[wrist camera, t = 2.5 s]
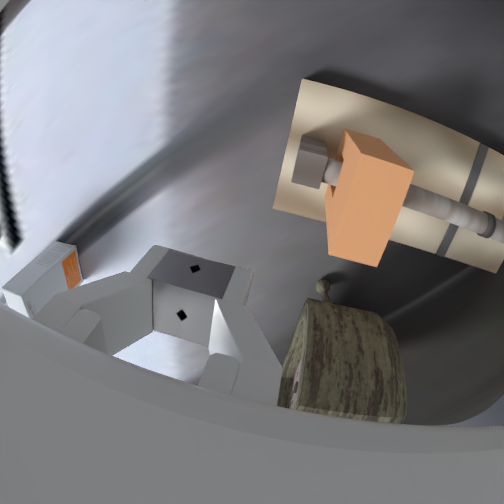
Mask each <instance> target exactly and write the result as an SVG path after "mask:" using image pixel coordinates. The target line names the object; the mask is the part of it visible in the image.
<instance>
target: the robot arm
mask: <svg viewBox="0 0 504 504" xmlns="http://www.w3.org/2000/svg"><path fill="white" fill-rule="evenodd" d="M252 277H253V270H251V269H246V268H242V267H237V266H236V267H235V266H232V265H228V264H223V263H219V262H215V261H211V260H207V259H203V258H201V257H197V256H194V255H190V254H187V253H183V252H180V251H176V250H173V249H170V248H166V247H162V246H158V245H154V246H152V248H151V249H150V250H149V251H148V252H147V253H146V254H145V255H144V257H143V258H142V259H141V260H140V261H139V262H138V264H137V265H136V266H135V267H134V268H133V269H132V270H131V272H130V273H129V272H122V273H119V274H116V275H113V276H109V277H106V278H103V279H100V280H97V281H94V282H91V283H88V284H85V285H82V286H79V287H76V288H73V289H70V290H67V291H64V292H61V293H58V294H55V295H54V296H53V297H52V298H51V299H50V300H49V301H48V302H47V303H46V305H45V306H44V307H43V308H42V309H41V310H40V311H39V312H38V313H37V314H36V315H35V316H34V317H33V318H32V319H30V318H28V317H27V316H25V315H23V314H21V313H19V312H17V311H15V310H14V309H12V308H10V307H8V306H6V305H5V304H3V303H1V302H0V504H504V425H502V426H471V427H470V426H468V427H467V426H464V427H462V426H456V427H455V426H423V425H406V424H393V423H382V422H373V421H364V420H356V419H348V418H341V417H334V416H328V415H321V414H315V413H310V412H304V411H299V410H294V409H288V408H284V407H279V406H277V401H278V395H279V389H280V382H281V376H282V369H283V368H282V366H281V364H280V363H279V361H278V359H277V357H276V356H275V354H274V352H273V350H272V349H271V347H270V345H269V343H268V342H267V340H266V338H265V336H264V334H263V333H262V331H261V329H260V327H259V326H258V324H257V322H256V320H255V318H254V317H253V315H252V313H251V311H250V309H249V308H248V306H246V303H247V299H248V294H249V290H250V286H251V281H252ZM153 330H154V331H157V332H161V333H164V334H168V335H171V336H175V337H178V338H181V339H184V340H187V341H190V342H193V343H197V344H200V345H203V346H206V347H209V352H210V357H209V359H208V362H207V364H206V367H205V369H204V372H203V374H202V377H201V379H200V382H199V384H198V386H197V385H193V384H190V383H187V382H184V381H181V380H178V379H174V378H171V377H168V376H165V375H162V374H159V373H157V372H154V371H151V370H148V369H145V368H142V367H140V366H137V365H134V364H132V363H129V362H126V361H124V360H121V359H119V358H116V357H114V356H112V355H114V354H116V353H117V352H119V351H121V350H122V349H124V348H126V347H128V346H129V345H131V344H133V343H134V342H136V341H138V340H139V339H141V338H143V337H145V336H146V335H148V334H150V333H151V332H153Z"/></svg>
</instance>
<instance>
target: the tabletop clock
mask: <svg viewBox="0 0 504 504" xmlns="http://www.w3.org/2000/svg"><path fill="white" fill-rule="evenodd" d="M329 290H330V283H329V282H328V281H327V280H326V279H320V280H319V281H318V282H317V283H316V291H317V292H319V293H320V294H322V295H323V301H319V300H315V299H310V298H307V300H306V302H305V304H304V307H303V309H302V312H301V315H300V317H299V320H298V323H297V326H296V328H295V331H294V334H293V337H292V340H291V342H290V345H289V348H288V351H287V354H286V357H285V360H284V363H283V366H282V368H283V369H282V376H281V382H280V389H279V395H278V401H277V406H279V407H284V408H288V409H294V410H299V411H304V412H310V413H315V414H321V415H328V416H334V417H341V418H348V419H356V420H364V421H373V422H382V423H393V424H402V423H403V421H404V419H405V417H406V410H407V390H406V382H405V375H404V368H403V362H402V357H401V353H400V349H399V345H398V342H397V338H396V335H395V333H394V330H393V329H392V328H391V327H390V325H389V324H388V323H386V322H385V321H384V320H383V319H382V318H381V317H380V316H379V315H378V314H377V313H376V312H371V311H366V310H361V309H356V308H352V307H347V306H342V305H338V304H333V303H331V301H330V299H329V296H328V294H327V292H328V291H329Z"/></svg>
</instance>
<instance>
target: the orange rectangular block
mask: <svg viewBox="0 0 504 504" xmlns="http://www.w3.org/2000/svg"><path fill="white" fill-rule="evenodd" d="M335 160H337V161H340V162H343V164H342V168H341V171H340V175H339V178H338V182H337V185H336V186H333V185H330V184H328V187H327V190H326V193H325V197H324V198H325V210H326V223H327V237H328V252H329V255H332V256H336V257H340V258H343V259H347V260H351V261H355V262H359V263H363V264H366V265H370V266H374V267H377V266H378V263H379V261H380V259H381V257H382V254H383V252H384V250H385V247H386V245H387V243H388V240H389V238H390V235H391V233H392V230H393V228H394V225H395V223H396V220H397V218H398V215H399V213H400V210H401V207H402V205H403V202H404V199H405V197H406V194H407V191H408V189H409V186H410V183H411V180H412V177H413V174H414V170H413V169H412V168H411V167H410V166H409V165H408V164H407V163H406V162H405V161H403V160H402V159H401V158H400V157H399V156H398V155H397V154H396V153H395V152H394V151H393V150H392V149H390V148H389V147H388V146H387V145H386V144H385V143H384V142H383V141H381V140H380V139H378V138H375V137H372V136H369V135H366V134H363V133H359V132H356V131H353V130H349V129H346V128H344V129H343V132H342V136H341V140H340V144H339V147H338V151H337V155H336V158H335Z"/></svg>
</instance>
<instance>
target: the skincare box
mask: <svg viewBox="0 0 504 504" xmlns="http://www.w3.org/2000/svg"><path fill="white" fill-rule="evenodd" d="M82 282H83V278H82V273H81V269H80V264H79V258H78V253H77V247H76V245H71V244H66V243H62V242H58V241H55V242H54V243H53V244H52V245H50V246H49V247H48V248H47V249H45V250H44V251H43V252H42V253H41V254H39V255H38V256H37V257H36V258H35V259H34V260H32V261H31V262H30V263H29V264H28V265H27V266H25V267H24V268H23V269H22V270H21V271H20V272H19V273H17V274H16V275H15V276H14V277H13V278H12V279H11V280H10V281H8V282H7V283H6V284H5V285H4V286H3V287H2V290H3V293H4V295H5V298H6V301H7V305H8V307H10V308H12V309H14V310H15V311H17V312H19V313H21V314H23V315H25V316H27V317H28V318H30V319H32V318H33V317H34V316H35V315H36V314H37V313H38V312H39V311H40V310H41V309H42V308H43V307H44V306H45V305H46V303H47V302H48V301H49V300H50V299H51V298H52V297H53V296H54V295H55V294H58V293H61V292H64V291H67V290H70V289H73V288H76V287H78V286H79V285H80V284H81V283H82Z"/></svg>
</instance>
